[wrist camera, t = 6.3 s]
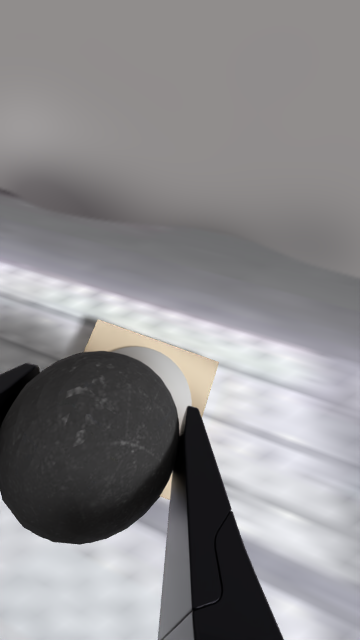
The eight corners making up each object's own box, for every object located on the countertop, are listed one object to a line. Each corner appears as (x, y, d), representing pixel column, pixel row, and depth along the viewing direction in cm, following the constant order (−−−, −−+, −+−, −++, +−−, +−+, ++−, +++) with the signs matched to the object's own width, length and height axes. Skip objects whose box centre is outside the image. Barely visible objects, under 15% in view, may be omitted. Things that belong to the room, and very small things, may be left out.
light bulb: (79, 370, 16) (-60, 356, 6) (168, 357, 16) (167, 325, 7) (86, 467, 15) (-77, 640, 5) (181, 450, 15) (202, 580, 5)
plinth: (175, 491, 17) (175, 504, 15) (51, 444, 17) (38, 451, 16) (215, 363, 19) (219, 362, 17) (103, 323, 19) (97, 318, 18)
